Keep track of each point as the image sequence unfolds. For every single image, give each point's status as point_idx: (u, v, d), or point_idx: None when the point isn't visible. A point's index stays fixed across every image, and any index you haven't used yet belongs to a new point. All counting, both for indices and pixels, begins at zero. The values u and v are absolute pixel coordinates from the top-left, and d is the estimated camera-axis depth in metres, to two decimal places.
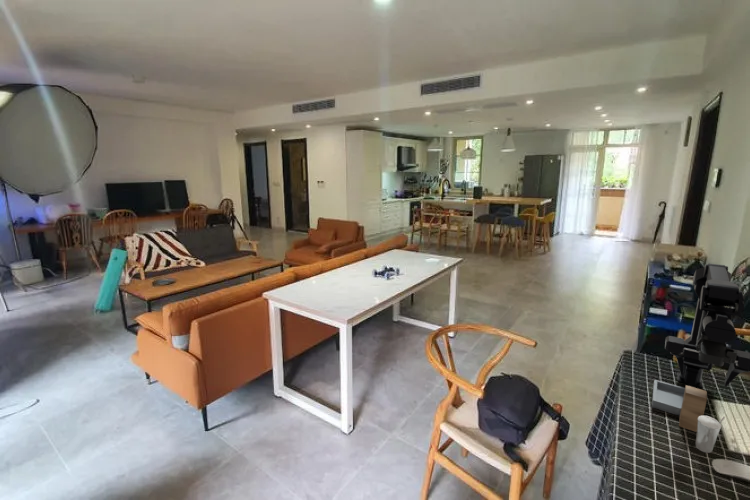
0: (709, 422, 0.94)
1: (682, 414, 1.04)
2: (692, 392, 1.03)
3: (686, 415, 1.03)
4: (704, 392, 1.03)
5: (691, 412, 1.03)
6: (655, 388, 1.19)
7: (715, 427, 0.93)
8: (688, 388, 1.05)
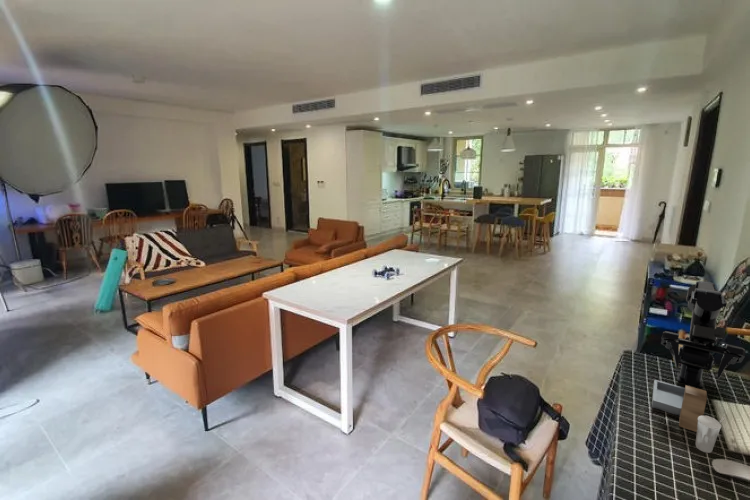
0: (709, 422, 0.94)
1: (682, 414, 1.04)
2: (692, 392, 1.03)
3: (686, 415, 1.03)
4: (704, 392, 1.03)
5: (691, 412, 1.03)
6: (655, 388, 1.19)
7: (715, 427, 0.93)
8: (688, 388, 1.05)
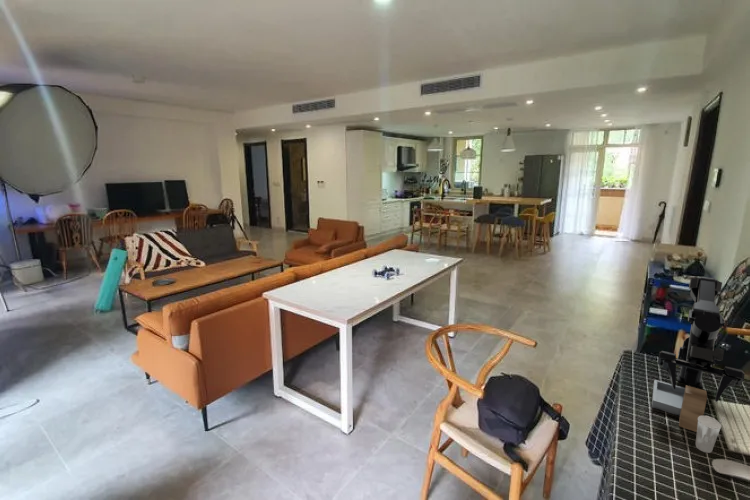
0: (709, 422, 0.94)
1: (682, 414, 1.04)
2: (692, 392, 1.03)
3: (686, 415, 1.03)
4: (704, 392, 1.03)
5: (691, 412, 1.03)
6: (655, 388, 1.19)
7: (715, 427, 0.93)
8: (688, 388, 1.05)
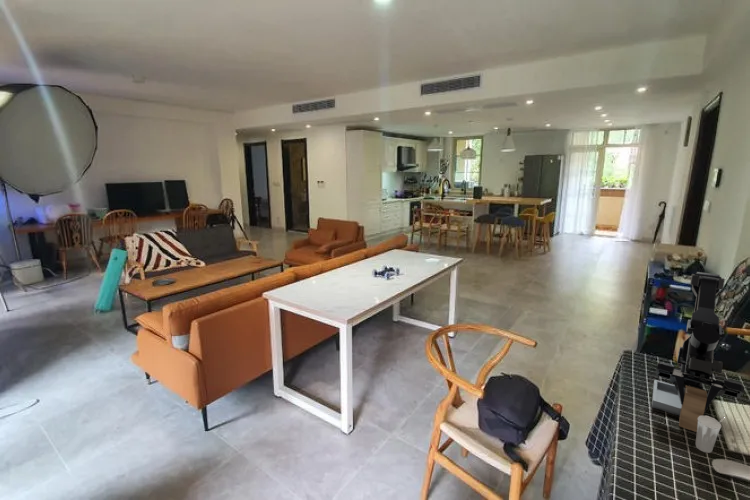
0: (709, 422, 0.94)
1: (682, 414, 1.04)
2: (692, 392, 1.03)
3: (686, 415, 1.03)
4: (704, 392, 1.03)
5: (691, 412, 1.03)
6: (655, 388, 1.19)
7: (715, 427, 0.93)
8: (688, 387, 1.05)
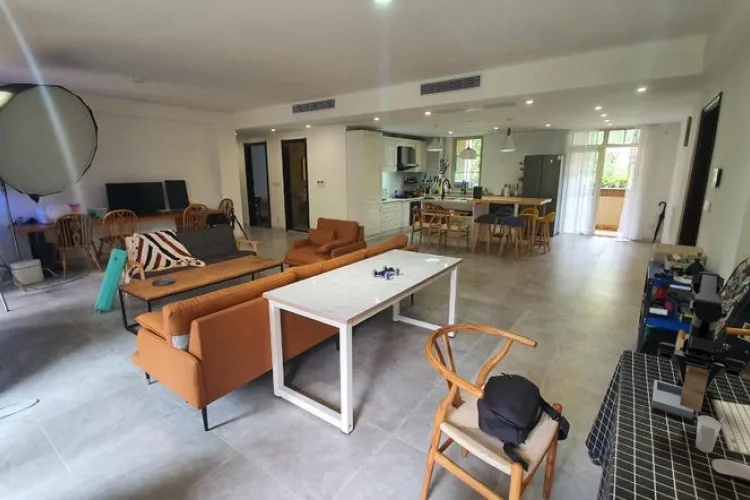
0: (709, 422, 0.94)
1: (683, 393, 1.04)
2: (693, 371, 1.02)
3: (687, 394, 1.03)
4: (705, 371, 1.02)
5: (692, 390, 1.02)
6: (655, 388, 1.19)
7: (715, 427, 0.93)
8: (689, 367, 1.04)
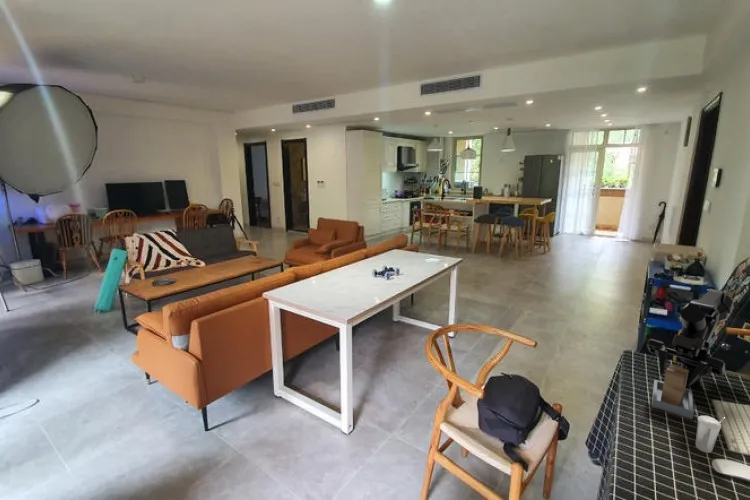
0: (709, 422, 0.94)
1: (663, 389, 1.15)
2: (673, 369, 1.13)
3: (667, 390, 1.14)
4: (685, 370, 1.12)
5: (671, 387, 1.13)
6: (655, 388, 1.19)
7: (715, 428, 0.93)
8: (672, 366, 1.15)
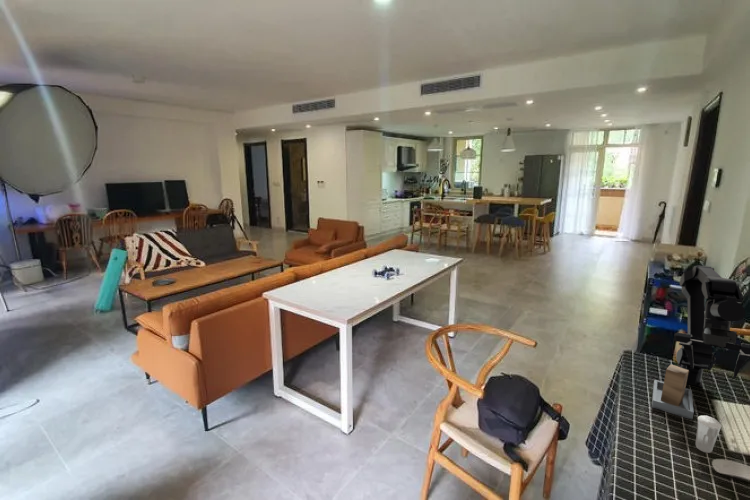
0: (709, 422, 0.94)
1: (663, 389, 1.15)
2: (673, 369, 1.13)
3: (667, 390, 1.14)
4: (685, 370, 1.12)
5: (671, 387, 1.13)
6: (655, 388, 1.19)
7: (715, 427, 0.93)
8: (672, 366, 1.15)
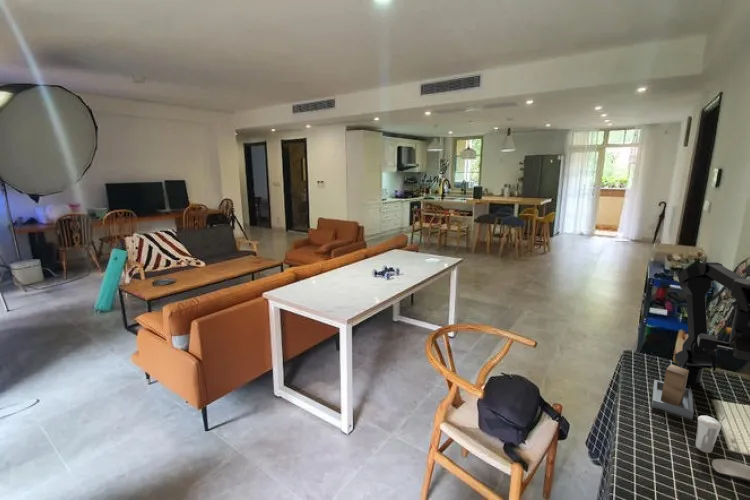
0: (709, 422, 0.94)
1: (663, 389, 1.15)
2: (673, 369, 1.13)
3: (667, 390, 1.14)
4: (685, 370, 1.12)
5: (671, 387, 1.13)
6: (655, 388, 1.19)
7: (715, 427, 0.93)
8: (672, 366, 1.15)
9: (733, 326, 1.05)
